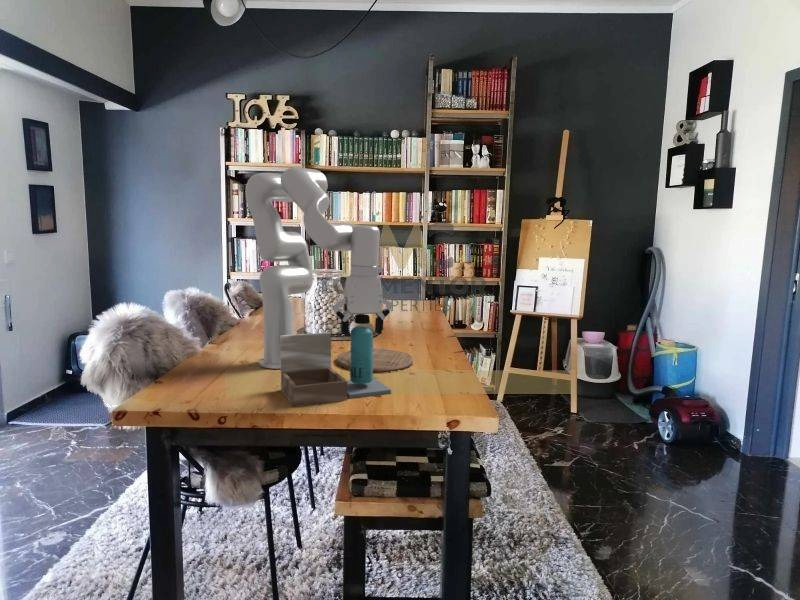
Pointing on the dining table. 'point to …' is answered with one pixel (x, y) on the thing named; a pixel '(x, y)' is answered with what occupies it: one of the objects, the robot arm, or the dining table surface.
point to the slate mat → (366, 389)
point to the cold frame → (310, 370)
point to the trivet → (381, 360)
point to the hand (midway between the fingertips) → (362, 334)
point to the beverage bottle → (361, 351)
